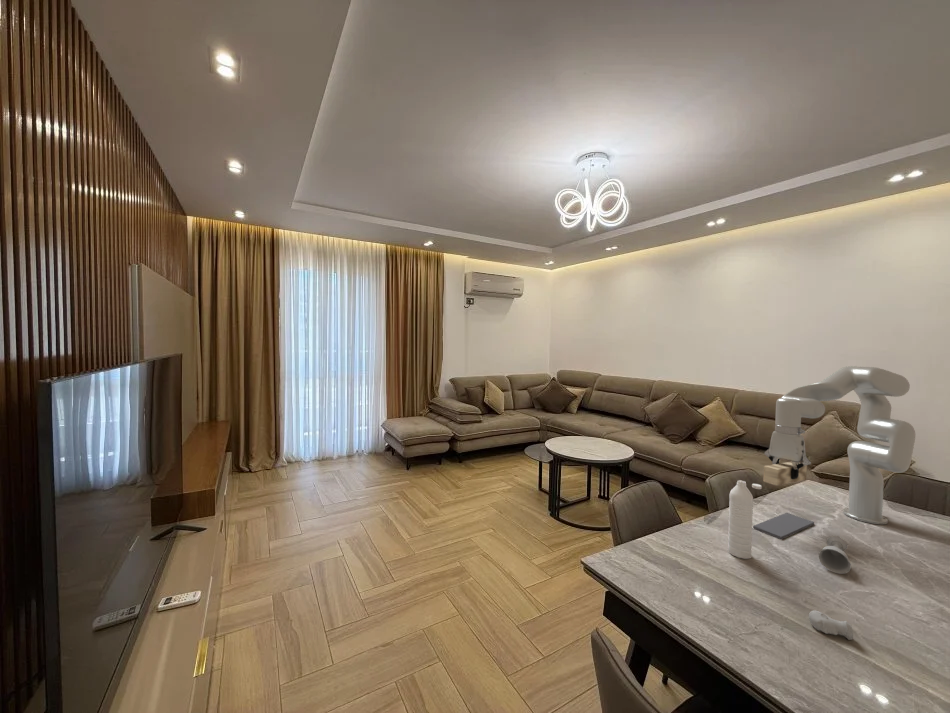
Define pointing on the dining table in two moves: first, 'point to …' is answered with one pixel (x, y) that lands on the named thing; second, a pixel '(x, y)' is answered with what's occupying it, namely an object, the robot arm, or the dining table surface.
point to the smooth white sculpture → (830, 625)
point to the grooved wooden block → (782, 473)
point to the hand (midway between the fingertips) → (785, 475)
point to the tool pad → (783, 525)
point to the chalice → (835, 555)
